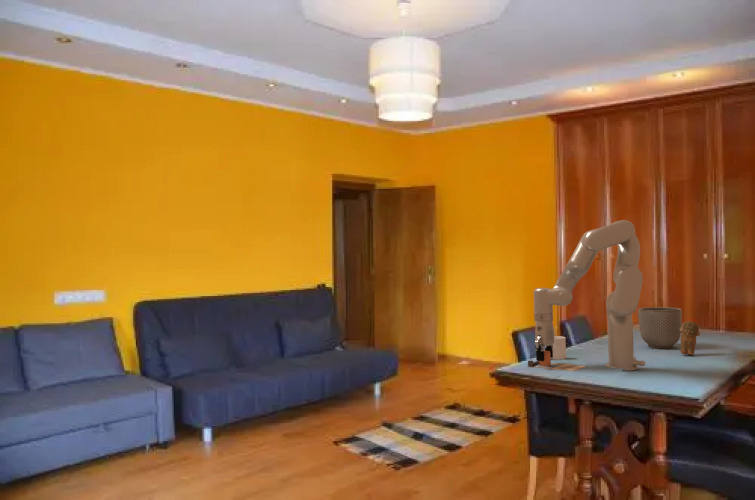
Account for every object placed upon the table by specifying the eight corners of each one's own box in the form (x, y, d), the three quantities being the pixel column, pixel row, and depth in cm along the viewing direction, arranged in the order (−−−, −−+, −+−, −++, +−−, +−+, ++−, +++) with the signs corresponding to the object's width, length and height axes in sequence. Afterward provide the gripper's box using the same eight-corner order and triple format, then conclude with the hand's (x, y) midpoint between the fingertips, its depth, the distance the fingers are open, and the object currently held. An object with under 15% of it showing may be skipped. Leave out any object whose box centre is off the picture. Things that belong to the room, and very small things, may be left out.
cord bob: (552, 367, 255) (551, 351, 255) (548, 369, 252) (547, 352, 252) (541, 367, 258) (541, 350, 258) (537, 368, 254) (537, 351, 254)
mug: (553, 363, 265) (552, 339, 265) (537, 361, 271) (536, 338, 271) (569, 360, 272) (569, 337, 272) (554, 358, 279) (553, 335, 279)
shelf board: (586, 368, 251) (586, 359, 251) (576, 374, 241) (575, 364, 241) (539, 364, 263) (539, 356, 263) (527, 369, 253) (527, 360, 253)
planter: (690, 350, 291) (689, 309, 292) (649, 351, 292) (647, 310, 292) (671, 344, 311) (670, 306, 311) (632, 345, 311) (631, 307, 312)
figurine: (680, 356, 275) (679, 322, 276) (679, 353, 283) (678, 320, 283) (702, 356, 272) (700, 323, 272) (700, 354, 280) (698, 321, 280)
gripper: (544, 320, 246) (546, 363, 246) (559, 316, 260) (560, 356, 260) (526, 319, 250) (528, 361, 250) (542, 315, 264) (543, 355, 264)
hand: (544, 359), depth 255 cm, fingers open, 9 cm apart
